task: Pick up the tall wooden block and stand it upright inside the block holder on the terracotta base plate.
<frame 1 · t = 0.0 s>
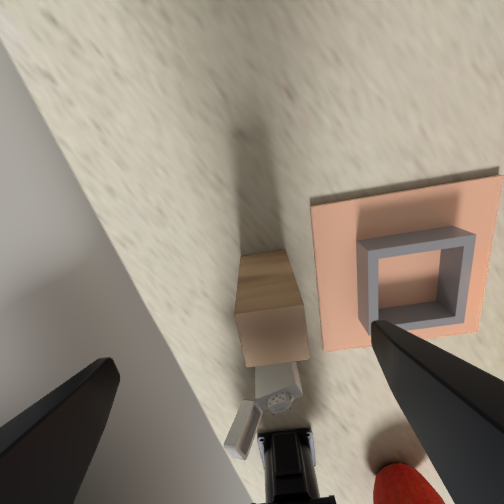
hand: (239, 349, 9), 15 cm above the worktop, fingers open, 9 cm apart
lighter: (262, 366, 28), on the worktop
apple: (391, 470, 35), on the worktop
wooden block: (266, 272, 24), on the worktop
block holder: (399, 272, 24), on the worktop
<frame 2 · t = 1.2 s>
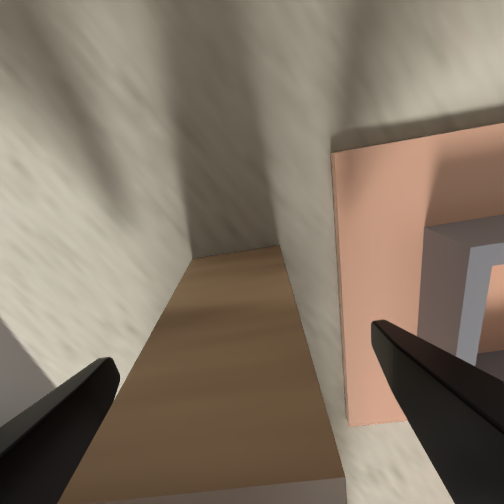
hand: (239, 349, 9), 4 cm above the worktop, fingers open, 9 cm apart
wooden block: (243, 290, 13), on the worktop
block holder: (498, 290, 13), on the worktop
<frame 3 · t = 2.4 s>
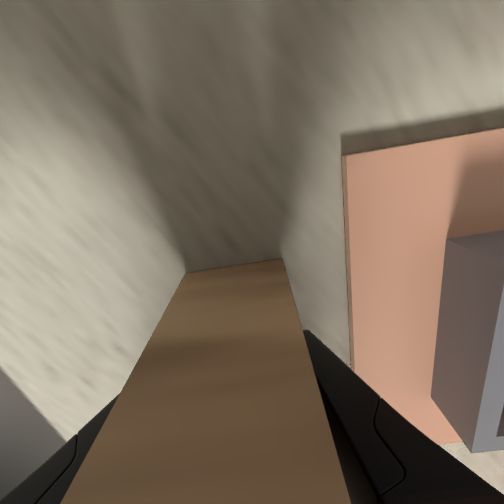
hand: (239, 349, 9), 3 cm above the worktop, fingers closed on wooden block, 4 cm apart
wooden block: (242, 307, 11), on the worktop, touching gripper
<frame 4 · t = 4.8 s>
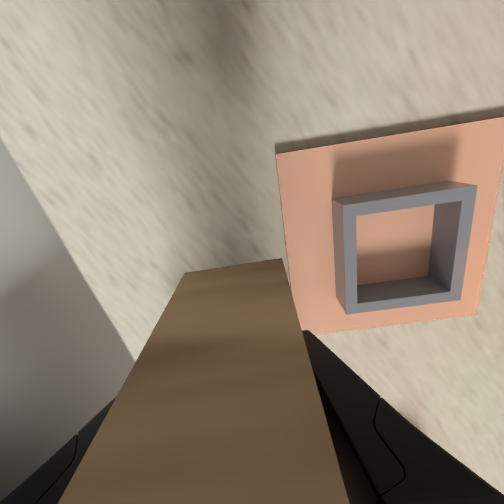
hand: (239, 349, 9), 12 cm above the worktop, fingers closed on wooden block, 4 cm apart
wooden block: (241, 307, 11), point 9 cm above the worktop, touching gripper
block holder: (384, 241, 20), on the worktop
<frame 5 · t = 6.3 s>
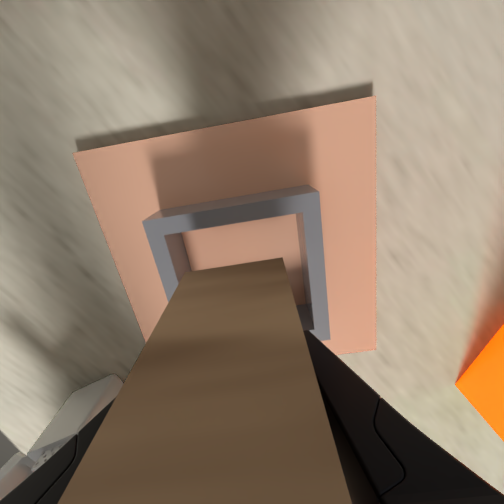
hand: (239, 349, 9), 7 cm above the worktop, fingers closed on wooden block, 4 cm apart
lighter: (86, 395, 20), on the worktop
wooden block: (242, 306, 11), point 5 cm above the worktop, touching gripper
block holder: (246, 261, 16), on the worktop
when the fingers open (4 cm above the worktop, at t = 7.2 s): wooden block stays where it is, resting on block holder.
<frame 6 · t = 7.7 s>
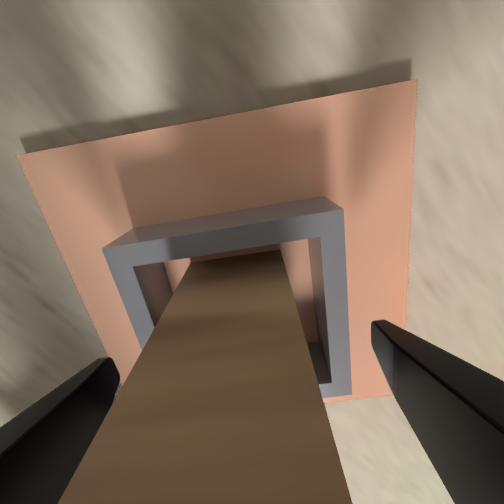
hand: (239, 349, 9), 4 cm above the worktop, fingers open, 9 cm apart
wooden block: (242, 295, 12), resting on block holder
block holder: (243, 290, 13), on the worktop
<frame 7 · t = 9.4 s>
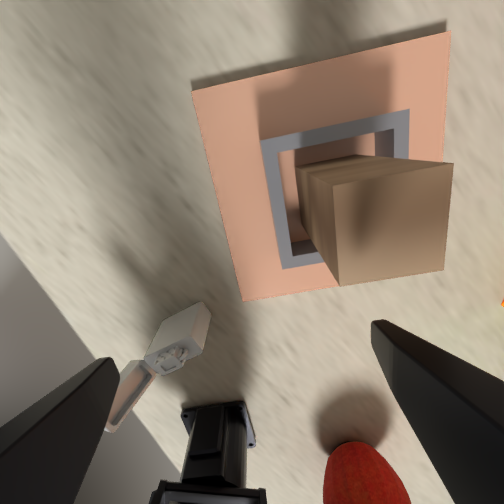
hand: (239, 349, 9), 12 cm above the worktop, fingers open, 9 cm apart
lighter: (173, 324, 23), on the worktop
apple: (349, 450, 29), on the worktop
wooden block: (327, 190, 18), resting on block holder
block holder: (325, 190, 18), on the worktop
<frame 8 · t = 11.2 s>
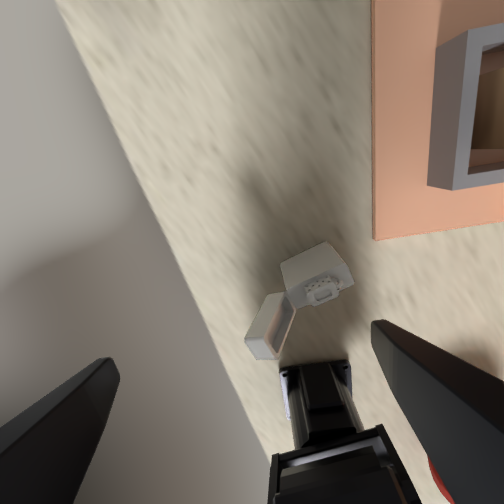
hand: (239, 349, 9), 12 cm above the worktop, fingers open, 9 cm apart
lighter: (289, 268, 21), on the worktop
wooden block: (495, 110, 17), resting on block holder
block holder: (489, 112, 17), on the worktop
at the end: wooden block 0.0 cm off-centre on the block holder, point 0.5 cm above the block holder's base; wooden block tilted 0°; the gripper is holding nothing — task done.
